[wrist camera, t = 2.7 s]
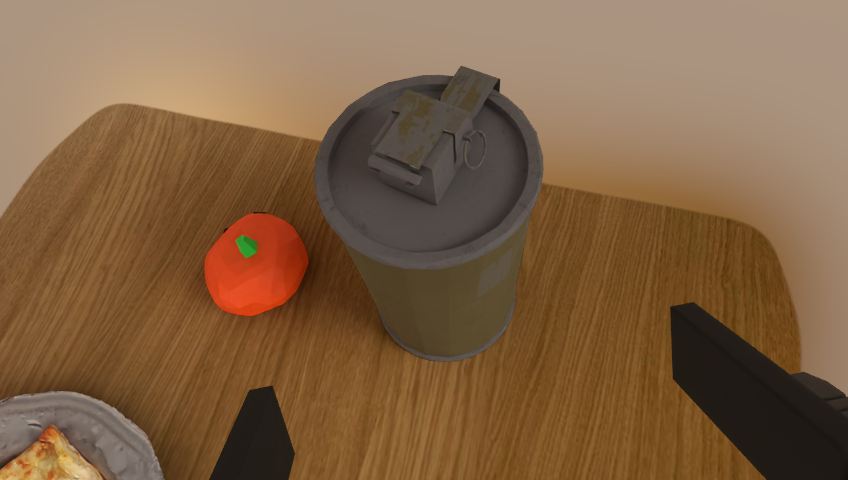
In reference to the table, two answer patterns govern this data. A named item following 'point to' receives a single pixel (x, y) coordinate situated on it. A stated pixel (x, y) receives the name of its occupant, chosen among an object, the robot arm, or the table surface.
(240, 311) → the pumpkin
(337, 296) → the table surface
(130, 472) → the food plate
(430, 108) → the canister
